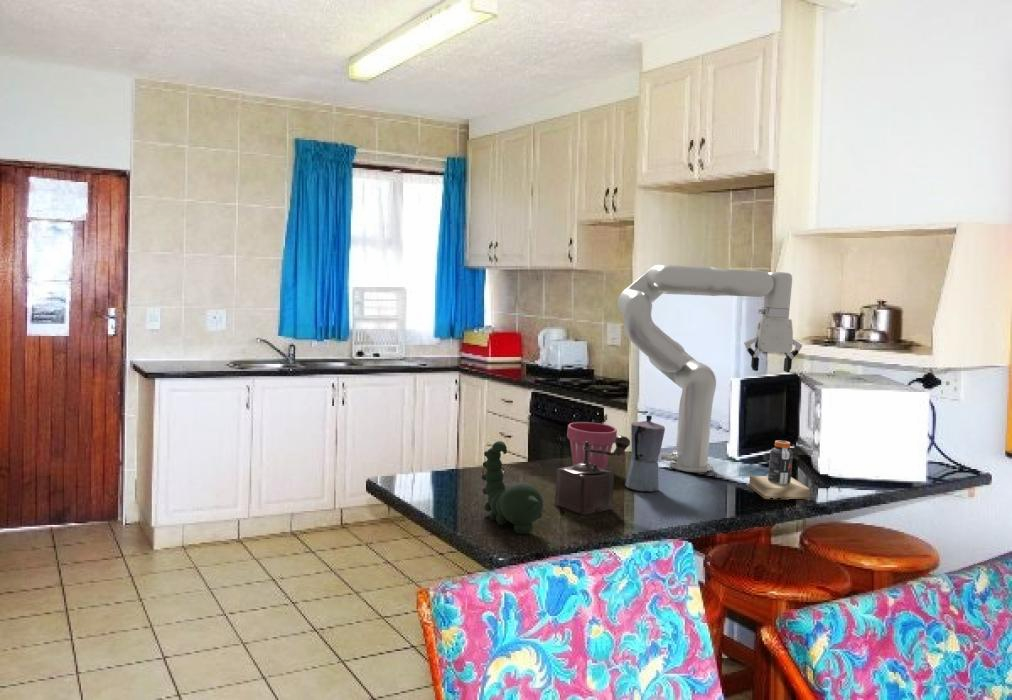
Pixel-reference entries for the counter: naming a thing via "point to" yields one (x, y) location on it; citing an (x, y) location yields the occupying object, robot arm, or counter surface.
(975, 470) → the counter surface
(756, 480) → the base
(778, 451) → the pill bottle
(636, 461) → the moka pot
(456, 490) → the counter surface
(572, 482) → the coffee grinder
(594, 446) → the plant pot
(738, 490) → the counter surface
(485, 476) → the toy figurine
